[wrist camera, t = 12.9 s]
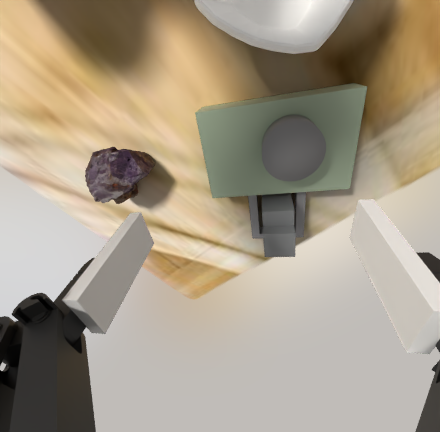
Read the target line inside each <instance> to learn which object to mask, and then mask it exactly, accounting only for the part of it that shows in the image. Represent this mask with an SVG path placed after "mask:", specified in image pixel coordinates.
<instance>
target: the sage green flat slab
mask: <svg viewBox="0 0 440 432" xmlns="http://www.w3.org/2000/svg"><path fill="white" fill-rule="evenodd" d="M366 91H367V86H363V85H359V84H355V83H351V84H345V85H339V86H332V87H326V88H320V89H313V90H307V91H301V92H294V93H288V94H282V95H275V96H269V97H263V98H256V99H250V100H244V101H237V102H231V103H225V104H218V105H212V106H206V107H202V108H201V109H199V110H198V111H197V112H196V113H195V114H196V119H197V124H198V129H199V134H200V139H201V144H202V149H203V153H204V158H205V163H206V168H207V173H208V178H209V183H210V188H211V193H212V198H222V197H237V196H248V199H249V209H250V218H251V228H252V237H253V238H263V227H260V224H259V212H258V199H257V195H267V194H282V193H295V214H294V228H295V233H296V237H304V220H305V201H306V192H311V191H326V190H341V189H350V185H351V179H352V173H353V167H354V161H355V155H356V149H357V144H358V138H359V132H360V126H361V120H362V114H363V108H364V103H365V97H366Z"/></svg>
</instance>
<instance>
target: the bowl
mask: <svg viewBox="0 0 440 432" xmlns="http://www.w3.org/2000/svg"><path fill="white" fill-rule="evenodd" d="M194 1H195V5H196V7H197V9H198V10H199V11H200V12H201V13H202V14H203V15H204V16H205V17H206V18H207V19H208V20H209V21H210V22H211V23H212V24H213V25H215V26H216V27H218V28H219V29H221V30H223V31H224V32H226V33H227V34H229V35H231V36H232V37H234V38H236V39H239V40H241V41H243V42H245V43H247V44H249V45H251V46H255V47H258V48H262V49H266V50H270V51H276V52H283V53H290V54H298V53H306V52H313V51H316V50H318V49H319V48H320V47H321V46H322V45H323V43H324V42H325V41H326V40H327V39H328V38H329V36H330V35H331V34H332V33H333V32H334V31H335V30H336V28H337V27H338V25H339V23H340V22H341V20H342V19H343V17H344V16H345V14H346V12H347V11H348V9H349V8H350V6H351V4H352V3H353V1H354V0H194Z"/></svg>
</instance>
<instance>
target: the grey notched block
mask: <svg viewBox="0 0 440 432" xmlns="http://www.w3.org/2000/svg"><path fill="white" fill-rule="evenodd" d="M262 219H263V239H264V252H265V257H295V239H296V233H295V228H294V206H293V201H292V197H291V193H282V194H267V195H262Z"/></svg>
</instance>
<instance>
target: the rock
mask: <svg viewBox="0 0 440 432" xmlns="http://www.w3.org/2000/svg"><path fill="white" fill-rule="evenodd" d="M154 166H155V163H154V161H153V160H152V158H151V157H150V156H149V155H148V154H146V153H145V152H140V151H132V150H127V149H121V150H117V149H116V148H115V147H111V148H108V149H103V150H100V151H96V152H93V154H92V156H91V160H90V162H89V164H88V167H87V168H86V175H85V177H86V182H87V186H88V187H89V191H90V193H91V194H92V196H93V197H94V200H95V201H97V202H99V201H101V202H102V203H105V202H109V201H110V200H111V199H113V200H114V201H115V202H116V204H120V203H122V202H124V201H126V200H127V199H129V198H131V197H135V196H137V194H138V190H137V185H136V183H137V182H138V181H139V180H141V179H142V178H144V177H146V176H147V175H148V174H149V172H150V171H151V169H152V168H153V167H154Z"/></svg>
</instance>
